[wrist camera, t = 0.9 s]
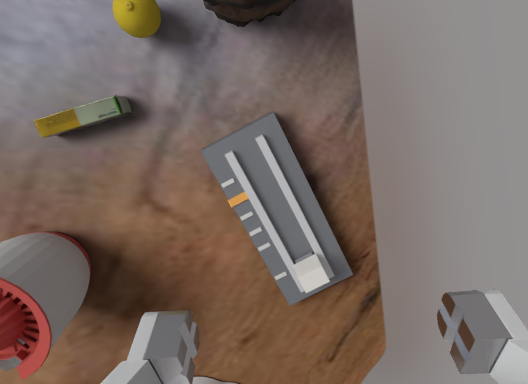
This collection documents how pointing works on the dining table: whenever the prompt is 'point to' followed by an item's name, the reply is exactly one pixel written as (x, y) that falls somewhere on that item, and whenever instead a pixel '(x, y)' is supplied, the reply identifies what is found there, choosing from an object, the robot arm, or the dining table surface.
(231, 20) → the owl
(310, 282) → the fader
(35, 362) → the citrus juicer
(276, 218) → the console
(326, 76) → the dining table surface
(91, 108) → the medication box
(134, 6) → the lemon
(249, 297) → the dining table surface
